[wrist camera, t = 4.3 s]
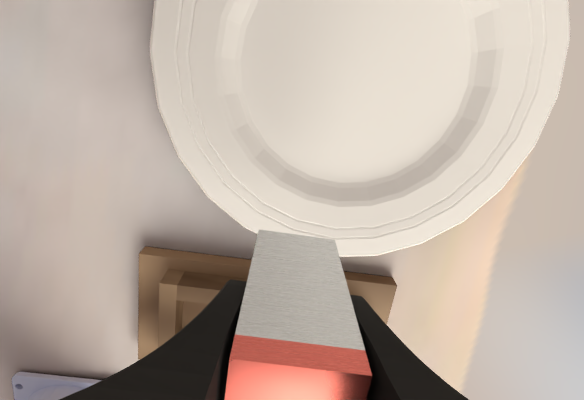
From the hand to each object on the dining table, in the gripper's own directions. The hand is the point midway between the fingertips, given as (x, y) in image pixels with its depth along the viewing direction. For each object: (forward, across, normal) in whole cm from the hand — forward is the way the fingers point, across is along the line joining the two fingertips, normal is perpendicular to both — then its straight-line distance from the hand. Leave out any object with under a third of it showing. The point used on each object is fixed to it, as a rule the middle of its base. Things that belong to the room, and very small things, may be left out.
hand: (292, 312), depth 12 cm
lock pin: (+3, 0, 0) cm, 3 cm away
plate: (+11, -2, -8) cm, 14 cm away
